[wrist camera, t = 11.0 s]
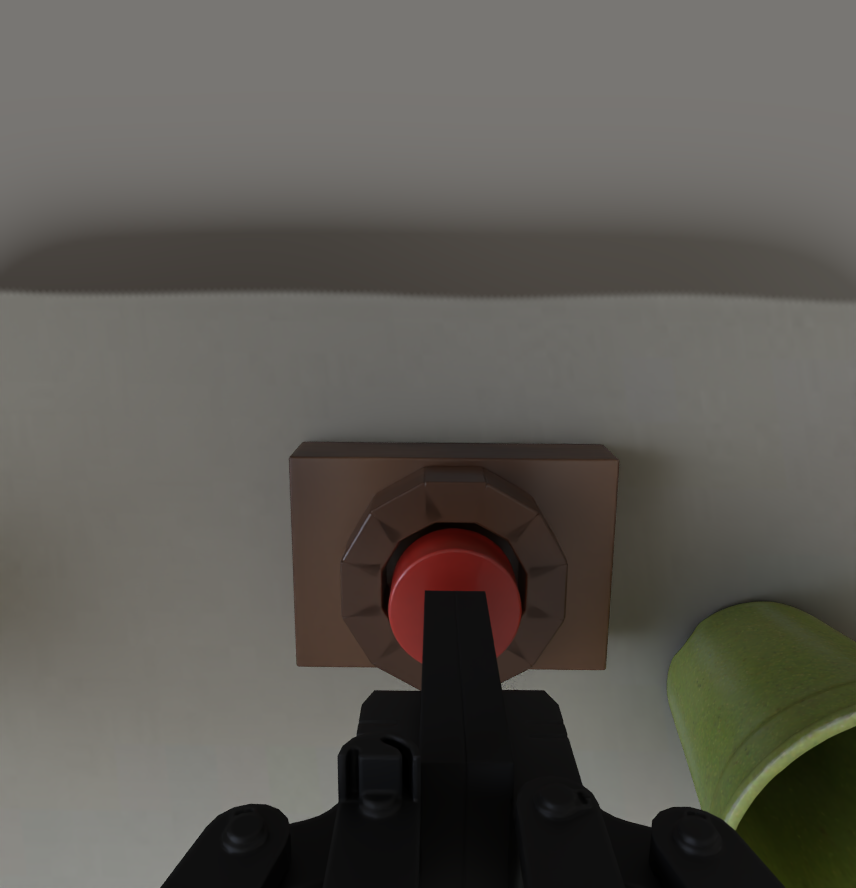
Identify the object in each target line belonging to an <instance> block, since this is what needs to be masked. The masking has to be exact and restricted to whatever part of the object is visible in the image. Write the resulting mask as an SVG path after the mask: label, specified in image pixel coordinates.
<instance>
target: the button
mask: <svg viewBox="0 0 856 888" xmlns="http://www.w3.org/2000/svg"><path fill="white" fill-rule="evenodd" d="M425 590H432V591H485V593H486V598H487V604H488V610H489V616H490V622H491V628H492V634H493V640H494V646H495V652H496V658H497V657H498V656H500V655H501V654H502V653H503V652H504V651H505V650H506V649H507V648H508V646H509V645H510V644H511V642H512V641H513V639H514V637H515V635H516V633H517V631H518V628H519V625H520V621H521V614H522V605H521V598H520V593H519V590H518V586H517V582H516V579H515V575H514V572H513V569H512V566H511V563H510V561H509V559H508V558H507V556H506V555H505V553H504V552H503V551H502V550H501V548H500V547H499V546H498V545H497V544H495V543H494V542H493V541H492V540H490V539H489V538H487V537H486V536H483V535H481V534H479V533H477V532H474V531H471V530H466V529H458V528H450V529H442V530H437V531H434V532H430V533H428V534H426V535H424V536H422V537H420V538H419V539H417V540H416V541H414V542H413V543H412V544H411V545H410V546H409V547H408V548H407V549H406V550H405V551H404V552H403V554H402V555H401V557H400V558H399V560H398V562H397V564H396V566H395V569H394V573H393V577H392V583H391V590H390V596H389V604H388V615H389V622H390V626H391V629H392V631H393V634H394V636H395V638H396V640H397V641H398V643H399V644H400V645H401V647H402V648H403V649H404V650H405V651H406V652H407V653H408V654H409V655H410V656H411V657H413V658H414V659H415V660H417V661H418V662H420V663H422V655H423V626H424V597H425Z"/></svg>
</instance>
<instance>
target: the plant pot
mask: <svg viewBox="0 0 856 888" xmlns="http://www.w3.org/2000/svg"><path fill="white" fill-rule="evenodd" d="M667 696H668V702H669V706H670V709H671V712H672V715H673V718H674V722H675V725H676V729H677V732H678V735H679V738H680V741H681V744H682V747H683V750H684V753H685V756H686V760H687V763H688V766H689V769H690V772H691V776H692V779H693V782H694V786H695V789H696V792H697V796H698V799H699V802H700V805H701V809H702V810H703V811H707V812H709V813H711V814H713V815H715V816H717V817H719V818H721V819H722V820H724V821H725V822H726V823H727V824H728V825H729V826H731V827H732V828H733V829H734V830H735V831H736V832H737V833H738V834H739V835H740V836H741V838H742V839H743V840H744V841H745V842H746V843H747V844H748V845H749V847H750V848H751V849H752V850H753V851H754V852H755V853H756V855H757V856H758V857H759V858H760V859H761V860H762V861H763V862H764V864H765V865H766V866H767V867H768V868H769V869H770V870H771V872H772V873H773V874H774V875H775V876H776V877H777V878H778V880H779V881H780V882H781V883H782V884H783V885H784V886H785V887H786V888H856V642H855V641H853V640H851V639H850V638H848V637H846V636H845V635H843V634H841V633H840V632H838V631H837V630H835V629H833V628H832V627H830V626H828V625H827V624H825V623H823V622H822V621H820V620H819V619H817V618H815V617H813V616H811V615H809V614H808V613H806V612H804V611H801V610H799V609H797V608H794V607H792V606H789V605H785V604H781V603H776V602H762V601H761V602H749V603H743V604H738V605H734V606H731V607H728V608H725V609H723V610H721V611H719V612H716V613H714V614H713V615H711V616H709V617H708V618H706V619H705V620H703V621H702V622H701V623H699V624H698V626H697V627H696V629H695V631H694V632H693V634H692V635H691V636H690V638H689V639H688V640H687V641H686V643H685V644H684V646H683V647H682V648H681V649H680V651H679V652H678V653H677V654H676V655H675V656H674V657H673V659H672V662H671V665H670V667H669V672H668V679H667Z"/></svg>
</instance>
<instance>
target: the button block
mask: <svg viewBox="0 0 856 888" xmlns="http://www.w3.org/2000/svg"><path fill="white" fill-rule="evenodd" d="M289 473H290V500H291V527H292V554H293V582H294V609H295V636H296V664H297V666H303V667H378V668H379V669H381V670H383V671H385V672H387V673H389V674H391V675H393V676H394V677H396V678H398V679H400V680H402V681H404V682H406V683H407V684H409V685H411V686H413V687H415V688H417V689H419V690H421V684H422V663H420V662H418V661H417V660H415V659H414V658H413V657H411V656H410V655H409V654H408V653H407V652H406V651H405V650H404V649H403V648H402V647H401V645H400V644H399V643H398V641H397V640H396V638H395V636H394V634H393V631H392V629H391V626H390V622H389V615H388V604H389V596H390V590H391V583H392V577H393V573H394V569H395V566H396V564H397V562H398V560H399V558H400V557H401V555H402V554H403V552H404V551H405V550H406V549H407V548H408V547H409V546H410V545H411V544H412V543H413V542H414V541H416V540H417V539H419V538H420V537H422V536H424V535H426V534H428V533H430V532H434V531H437V530H442V529H450V528H458V529H466V530H471V531H474V532H477V533H479V534H481V535H483V536H486V537H487V538H489V539H490V540H492V541H493V542H494V543H495V544H497V545H498V546H499V547H500V548H501V550H502V551H503V552H504V553H505V555H506V556H507V558H508V559H509V561H510V563H511V566H512V569H513V572H514V575H515V579H516V582H517V586H518V590H519V593H520V598H521V605H522V614H521V621H520V625H519V628H518V631H517V633H516V635H515V637H514V639H513V641H512V642H511V644H510V645H509V646H508V648H507V649H506V650H505V651H504V652H503V653H502V654H501V655H500V656H498V657H497V664H498V669H499V675H500V681H501V683H502V682H504V681H506V680H508V679H510V678H512V677H514V676H516V675H518V674H520V673H522V672H524V671H526V670H528V669H554V670H605V669H606V659H607V644H608V629H609V613H610V598H611V583H612V568H613V553H614V538H615V522H616V507H617V492H618V477H619V459H618V458H616V457H615V456H614V455H613V454H612V453H611V452H610V451H609V450H608V449H607V448H606V447H605V446H604V445H602V444H486V443H370V442H302V443H301V445H300V446H299V447H298V448H297V449H296V450H295V451H294V452H293V454H292V455H291V456H290V457H289Z"/></svg>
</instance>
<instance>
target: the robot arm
mask: <svg viewBox="0 0 856 888" xmlns="http://www.w3.org/2000/svg"><path fill="white" fill-rule="evenodd" d="M338 794H339V802H338V804H336V805H335V806H334V807H333V808H332V809H330V810H329V811H327V812H325V813H323V814H321V815H319V816H317V817H314V818H311V819H308V820H304V821H300V822H295V823H291V824H289V822H288V818H287V817H286V816H285V815H284V814H283V813H282V812H281V811H280V810H279V809H277V808H274V807H271V806H269V805H266V804H247V805H243V806H238V807H234V808H232V809H230V810H228V811H226V812H224V813H222V814H220V815H218V816H217V817H216V818H215V819H214V820H213V821H212V822H211V823H210V824H209V825H208V826H207V827H206V828H205V829H204V831H203V832H202V833H201V835H200V836H199V837H198V839H197V840H196V841H195V843H194V844H193V845H192V847H191V848H190V849H189V851H188V852H187V853H186V854H185V856H184V857H183V858H182V860H181V861H180V862H179V864H178V865H177V866H176V868H175V869H174V870H173V872H172V873H171V874H170V876H169V877H168V878H167V880H166V881H165V882H164V884H163V885H162V886H161V887H160V888H786V887H785V886H784V885H783V884H782V883H781V882H780V881H779V880H778V878H777V877H776V876H775V875H774V874H773V873H772V872H771V870H770V869H769V868H768V867H767V866H766V865H765V864H764V862H763V861H762V860H761V859H760V858H759V857H758V856H757V855H756V853H755V852H754V851H753V850H752V849H751V848H750V847H749V845H748V844H747V843H746V842H745V841H744V840H743V839H742V838H741V836H740V835H739V834H738V833H737V832H736V831H735V830H734V829H733V828H732V827H731V826H729V825H728V824H727V823H726V822H725V821H724V820H722V819H721V818H719V817H717V816H715V815H713V814H711V813H709V812H707V811H703V810H699V809H695V808H691V807H671V808H669V809H666V810H663V811H661V812H659V813H658V814H657V816H656V817H655V818H654V819H653V820H652V827H648V826H644V825H640V824H636V823H632V822H628V821H625V820H622V819H619V818H616V817H614V816H612V815H610V814H608V813H607V812H605V811H603V810H602V809H600V807H599V804H598V802H597V800H596V799H595V797H594V795H593V794H592V792H590V791H589V790H588V789H587V788H585V787H584V786H583V785H582V782H581V778H580V775H579V772H578V768H577V765H576V762H575V758H574V755H573V752H572V748H571V745H570V742H569V738H567V732H566V728H565V725H564V724H563V718H562V715H561V712H560V708H559V705H558V704H557V703H556V702H555V701H554V700H553V699H552V698H551V697H550V696H549V695H548V694H547V693H546V692H545V691H544V690H502V687H501V681H500V675H499V669H498V664H497V658H496V652H495V646H494V640H493V634H492V628H491V622H490V616H489V610H488V604H487V598H486V593H485V591H432V590H425V597H424V626H423V655H422V684H421V691H382V690H374V691H373V693H372V694H371V695H370V696H369V697H368V698H367V699H366V701H365V702H364V703H363V704H362V707H361V713H360V718H359V724H358V730H357V737H354V738H352V739H351V740H350V741H348V742H347V743H346V744H345V745H343V746H342V748H341V750H340V752H339V754H338Z"/></svg>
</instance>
